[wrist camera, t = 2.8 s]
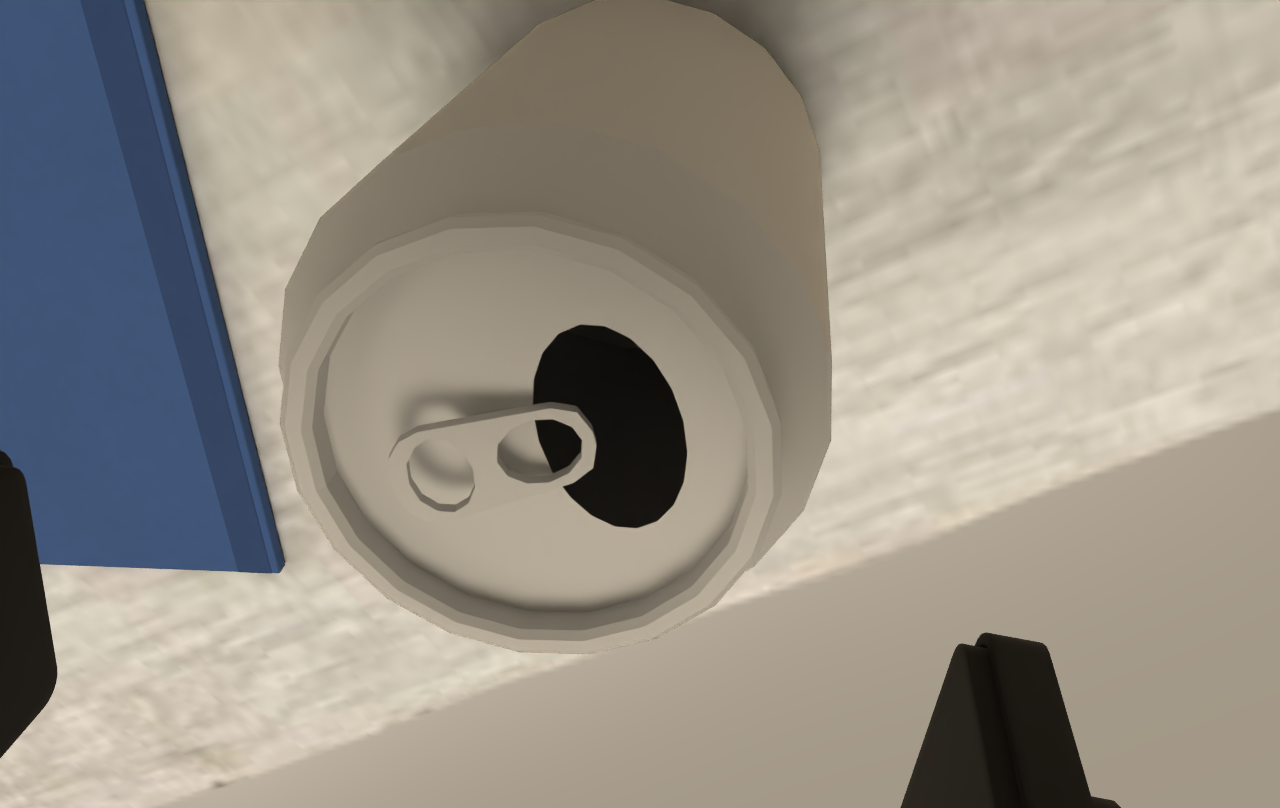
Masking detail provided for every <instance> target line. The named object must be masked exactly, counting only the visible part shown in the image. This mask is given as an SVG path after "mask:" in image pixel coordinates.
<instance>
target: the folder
mask: <svg viewBox="0 0 1280 808" xmlns="http://www.w3.org/2000/svg"><path fill="white" fill-rule="evenodd" d="M0 450H1V451H3V452H5V453H6V454H7V455H8V456H9V458H10V459H11V461H12V464H13V467H15V468H17V469H20V470H21V472H22V473H23V474H24V477H25V480H26V484H27V490H28V496H29V502H30V508H31V514H32V520H33V526H34V532H35V538H36V544H37V550H38V556H39V562H40V564H51V565H77V566H104V567H130V568H156V569H182V570H209V571H235V572H250V573H280V572H281V570H282V569H283V567H284V566H285V563H284V559H283V555H282V551H281V547H280V543H279V539H278V535H277V531H276V527H275V523H274V519H273V515H272V511H271V507H270V503H269V499H268V495H267V491H266V487H265V483H264V479H263V475H262V471H261V467H260V463H259V459H258V455H257V451H256V447H255V443H254V440H253V436H252V432H251V428H250V424H249V420H248V416H247V412H246V408H245V404H244V400H243V396H242V392H241V388H240V384H239V380H238V376H237V372H236V368H235V364H234V360H233V356H232V352H231V348H230V344H229V340H228V336H227V332H226V328H225V324H224V320H223V316H222V312H221V308H220V304H219V300H218V296H217V292H216V288H215V284H214V280H213V276H212V272H211V268H210V264H209V260H208V256H207V252H206V248H205V244H204V240H203V236H202V232H201V228H200V224H199V220H198V216H197V212H196V208H195V205H194V201H193V197H192V193H191V189H190V185H189V181H188V177H187V173H186V169H185V165H184V161H183V157H182V153H181V149H180V145H179V141H178V137H177V133H176V129H175V125H174V121H173V117H172V113H171V109H170V105H169V101H168V97H167V93H166V89H165V85H164V81H163V77H162V73H161V69H160V65H159V61H158V57H157V53H156V49H155V45H154V41H153V37H152V33H151V29H150V25H149V21H148V17H147V13H146V9H145V5H144V1H143V0H0Z"/></svg>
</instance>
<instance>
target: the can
mask: <svg viewBox="0 0 1280 808" xmlns="http://www.w3.org/2000/svg"><path fill="white" fill-rule="evenodd" d="M279 369H280V373H281V377H282V381H283V396H282V407H281V418H280V426H281V430H282V434H283V437H284V441H285V445H286V449H287V453H288V457H289V460H290V464H291V468H292V472H293V476H294V480H295V483H296V487H297V491H298V492H299V494H300V495H301V497H302V499H303V500H304V502H305V503H306V505H307V507H308V508H309V510H310V511H311V513H312V515H313V516H314V518H315V519H316V521H317V523H318V524H319V526H320V527H321V529H322V531H323V532H324V534H325V535H326V537H327V539H328V540H329V542H330V543H331V545H332V547H333V548H334V550H335V551H336V552H337V553H339V554H340V555H341V556H342V557H343V558H344V559H345V560H346V561H347V562H348V563H349V564H350V565H351V566H353V567H354V568H355V569H356V570H357V571H358V572H359V573H360V574H361V575H362V576H363V577H364V578H366V579H367V580H368V581H369V582H370V583H371V584H372V585H373V586H374V587H375V588H376V589H377V590H379V591H380V592H381V593H382V594H383V595H384V596H385V597H386V598H387V599H389V600H391V601H393V602H395V603H396V604H398V605H400V606H402V607H404V608H405V609H407V610H409V611H411V612H413V613H415V614H416V615H418V616H420V617H422V618H424V619H426V620H427V621H429V622H431V623H433V624H435V625H436V626H438V627H440V628H442V629H444V630H446V631H447V632H449V633H452V634H455V635H459V636H463V637H466V638H470V639H473V640H477V641H481V642H484V643H488V644H492V645H495V646H499V647H503V648H506V649H510V650H514V651H517V652H531V653H567V654H593V653H597V652H602V651H606V650H610V649H614V648H619V647H623V646H627V645H632V644H636V643H640V642H644V641H649V640H653V639H657V638H659V637H661V636H662V635H664V634H666V633H668V632H669V631H671V630H673V629H675V628H676V627H678V626H680V625H682V624H683V623H685V622H687V621H689V620H690V619H692V618H694V617H696V616H697V615H699V614H701V613H703V612H704V611H706V610H708V609H710V608H711V607H713V606H715V605H716V604H717V603H718V602H719V600H720V599H721V598H722V597H723V596H724V595H725V594H726V592H727V591H728V590H729V589H730V588H731V587H732V586H733V585H734V583H735V582H736V581H737V580H738V579H739V578H740V577H741V575H742V574H743V573H744V572H745V571H747V570H749V569H751V568H752V567H754V566H755V565H756V564H757V563H758V562H759V561H760V559H761V558H762V557H763V556H764V555H765V554H766V553H767V551H768V550H769V549H770V548H771V547H772V546H773V545H774V544H775V542H776V541H777V540H778V539H779V538H780V537H781V536H782V534H783V533H784V532H785V531H786V530H787V529H788V528H789V527H790V525H791V524H792V523H793V522H794V521H795V520H796V519H797V517H798V516H799V515H800V514H801V513H802V512H803V511H804V508H805V506H806V503H807V500H808V498H809V495H810V493H811V490H812V488H813V485H814V483H815V480H816V477H817V475H818V472H819V470H820V467H821V465H822V462H823V459H824V457H825V454H826V452H827V449H828V447H829V444H830V442H831V392H832V355H831V338H830V320H829V303H828V286H827V268H826V251H825V234H824V217H823V199H822V182H821V165H820V151H819V148H818V145H817V142H816V139H815V136H814V133H813V130H812V127H811V124H810V121H809V118H808V115H807V112H806V109H805V106H804V103H803V100H802V97H801V95H800V94H799V93H798V91H797V90H796V89H795V87H794V86H793V85H792V83H791V82H790V81H789V79H788V78H787V77H786V76H785V74H784V73H783V72H782V70H781V69H780V68H779V66H778V65H777V64H776V62H775V61H774V60H773V58H772V57H771V56H770V54H769V53H768V52H767V50H766V49H765V48H764V47H762V46H761V45H759V44H758V43H757V42H755V41H754V40H752V39H751V38H749V37H748V36H746V35H745V34H743V33H742V32H740V31H739V30H737V29H736V28H735V27H733V26H732V25H730V24H729V23H727V22H726V21H724V20H723V19H721V18H720V17H718V16H717V15H716V14H714V13H711V12H707V11H703V10H700V9H696V8H693V7H689V6H686V5H682V4H678V3H675V2H671V1H668V0H594V1H592V2H589V3H587V4H585V5H582V6H580V7H577V8H575V9H573V10H570V11H568V12H566V13H563V14H561V15H558V16H556V17H554V18H551V19H549V20H546V21H544V22H542V23H540V24H538V25H537V26H536V27H535V28H534V29H533V30H532V31H530V32H529V33H528V34H527V35H526V36H525V37H524V38H522V39H521V40H520V41H519V42H518V43H517V44H516V45H514V46H513V47H512V48H511V49H510V50H509V51H508V52H506V53H505V54H504V55H503V56H502V57H501V58H500V59H498V60H497V61H496V62H495V63H494V64H493V65H492V66H490V67H489V68H488V69H487V70H486V71H485V72H484V73H482V74H481V75H480V76H479V77H478V78H477V79H476V80H474V81H473V82H472V83H471V84H470V85H469V86H468V87H466V88H465V89H464V90H463V91H462V92H461V93H460V94H458V95H457V96H456V97H455V98H454V99H453V100H452V101H450V102H449V103H448V104H447V105H446V106H445V107H444V108H442V109H441V110H440V111H439V112H438V113H437V114H436V115H434V116H433V117H432V118H431V119H430V120H429V121H428V122H426V123H425V124H424V125H423V126H422V127H421V128H420V129H418V130H417V131H416V132H415V133H414V134H413V135H412V136H410V137H409V138H408V139H407V140H406V141H405V142H404V143H402V144H401V145H400V146H399V147H398V148H397V149H396V150H394V151H393V152H392V153H391V154H390V155H389V156H387V157H386V158H385V159H384V160H383V161H382V162H381V163H380V164H379V165H377V166H376V167H375V168H374V169H373V170H372V171H371V172H370V173H369V174H368V175H366V176H365V177H364V178H363V179H362V180H361V181H360V182H359V183H358V184H357V185H356V186H354V187H353V188H352V189H351V190H350V191H349V192H348V193H347V194H346V195H345V196H343V197H342V198H341V199H340V200H339V201H338V202H337V203H336V204H335V205H334V206H333V207H331V208H330V209H329V210H328V211H327V212H326V213H325V214H324V215H323V216H322V217H320V219H319V221H318V223H317V225H316V227H315V229H314V231H313V233H312V235H311V237H310V239H309V242H308V244H307V246H306V248H305V250H304V252H303V254H302V256H301V258H300V260H299V262H298V264H297V266H296V268H295V270H294V272H293V274H292V276H291V278H290V280H289V283H288V285H287V287H286V289H285V298H284V310H283V321H282V333H281V344H280V356H279Z"/></svg>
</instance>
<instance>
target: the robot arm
mask: <svg viewBox="0 0 1280 808" xmlns="http://www.w3.org/2000/svg"><path fill="white" fill-rule="evenodd" d="M56 680H57V664H56V658H55V652H54V646H53V640H52V634H51V628H50V622H49V616H48V610H47V604H46V598H45V592H44V586H43V580H42V574H41V568H40V562H39V556H38V550H37V544H36V538H35V532H34V526H33V520H32V514H31V508H30V502H29V496H28V490H27V484H26V480H25V477H24V474H23V473H22V472H21V470H20V469H17V468H15V467H13V464H12V461H11V459H10V458H9V456H8V455H7V454H6V453H5V452H3V451H1V450H0V758H1V757H2V756H3V755H4V753H5V752H6V751H7V750H8V749H9V748H10V746H11V745H12V744H13V743H14V742H15V741H16V739H17V738H18V737H19V736H20V735H21V734H22V732H23V731H24V730H25V729H26V728H27V727H28V726H29V724H30V723H31V722H32V721H33V720H34V719H35V717H36V716H37V715H38V714H39V713H40V712H41V710H42V709H43V708H44V707H45V705H46V704H47V703H48V701H49V699H50V697H51V695H52V693H53V691H54V688H55V685H56ZM901 808H1121V807H1120V806H1119V805H1118V804H1117V803H1116V802H1115V801H1112V800H1107V799H1102V798H1097V797H1091V795H1090V791H1089V788H1088V784H1087V781H1086V777H1085V774H1084V770H1083V767H1082V764H1081V760H1080V757H1079V753H1078V750H1077V746H1076V743H1075V740H1074V736H1073V733H1072V729H1071V726H1070V722H1069V719H1068V715H1067V712H1066V709H1065V705H1064V702H1063V698H1062V695H1061V691H1060V688H1059V684H1058V681H1057V677H1056V674H1055V670H1054V667H1053V663H1052V660H1051V657H1050V653H1049V651H1048V649H1047V647H1046V646H1045V645H1044V644H1043V643H1040V642H1034V641H1029V640H1023V639H1018V638H1012V637H1007V636H1002V635H997V634H991V633H983V634H981V635H980V637H979V638H978V640H977V642H976V644H975V646H972V645H966V644H959V645H958V646H957V647H956V649H955V651H954V653H953V656H952V659H951V662H950V665H949V668H948V671H947V674H946V677H945V680H944V682H943V685H942V689H941V691H940V694H939V697H938V700H937V703H936V706H935V709H934V712H933V715H932V717H931V721H930V724H929V726H928V729H927V733H926V735H925V738H924V741H923V744H922V747H921V750H920V753H919V756H918V758H917V761H916V764H915V767H914V770H913V773H912V776H911V779H910V782H909V785H908V788H907V791H906V794H905V797H904V799H903V803H902V806H901Z"/></svg>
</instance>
